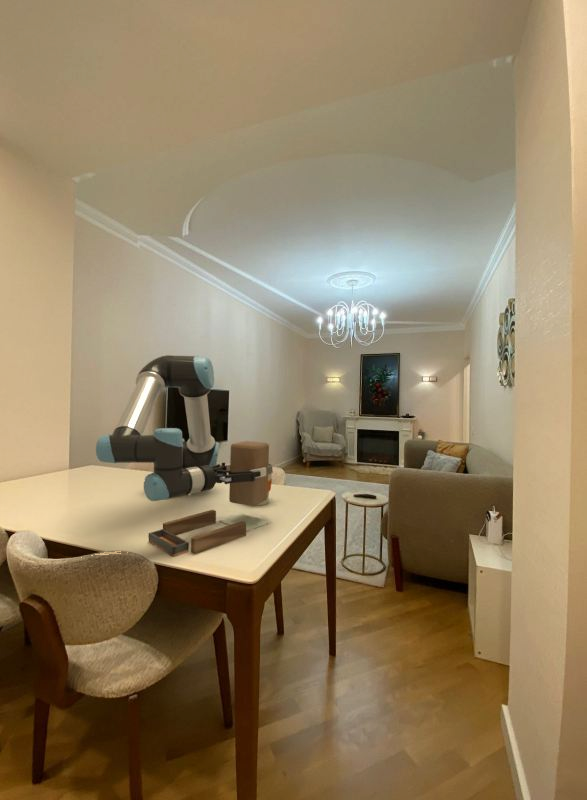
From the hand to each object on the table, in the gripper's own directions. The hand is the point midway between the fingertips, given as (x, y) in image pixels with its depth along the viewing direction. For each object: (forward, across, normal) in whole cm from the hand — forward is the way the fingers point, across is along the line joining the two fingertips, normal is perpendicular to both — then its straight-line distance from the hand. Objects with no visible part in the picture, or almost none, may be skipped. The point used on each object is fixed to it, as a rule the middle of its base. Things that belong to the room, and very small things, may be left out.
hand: (253, 468), depth 122 cm
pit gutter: (-31, -1, -18) cm, 35 cm away
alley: (-19, 0, -18) cm, 26 cm away
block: (-2, 0, -11) cm, 11 cm away
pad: (-4, 0, -18) cm, 18 cm away
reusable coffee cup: (+15, -14, -18) cm, 27 cm away
